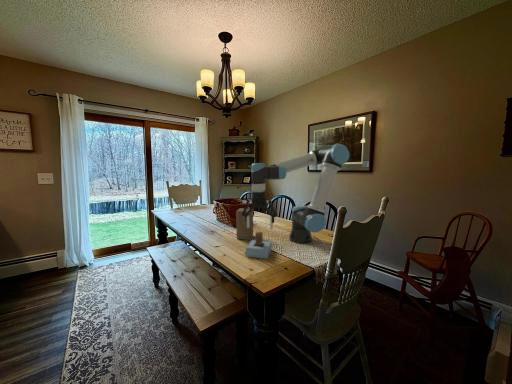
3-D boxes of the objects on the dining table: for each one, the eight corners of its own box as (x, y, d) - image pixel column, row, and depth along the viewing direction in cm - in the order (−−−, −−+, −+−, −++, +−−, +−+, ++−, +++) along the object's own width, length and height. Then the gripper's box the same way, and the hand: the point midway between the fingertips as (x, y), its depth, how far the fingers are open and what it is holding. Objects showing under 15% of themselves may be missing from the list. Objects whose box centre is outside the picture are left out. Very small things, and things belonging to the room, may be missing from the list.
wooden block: (250, 240, 139) (250, 211, 136) (236, 239, 141) (235, 210, 138) (253, 235, 148) (253, 208, 146) (240, 234, 150) (239, 207, 148)
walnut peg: (263, 251, 120) (263, 232, 118) (261, 254, 116) (261, 234, 114) (256, 251, 121) (256, 231, 119) (254, 254, 117) (254, 233, 115)
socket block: (271, 249, 123) (271, 241, 122) (267, 258, 111) (267, 249, 110) (252, 247, 126) (252, 240, 125) (246, 256, 114) (246, 247, 114)
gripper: (282, 190, 114) (282, 227, 117) (239, 190, 121) (241, 225, 123) (280, 192, 107) (280, 231, 110) (235, 191, 113) (236, 228, 116)
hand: (259, 228), depth 117 cm, fingers open, 13 cm apart
